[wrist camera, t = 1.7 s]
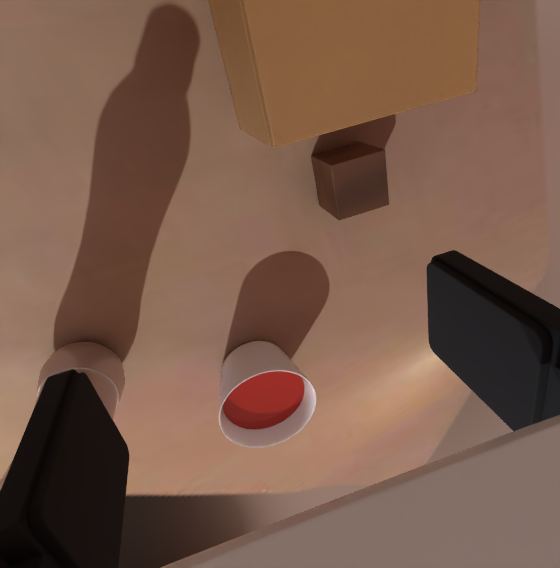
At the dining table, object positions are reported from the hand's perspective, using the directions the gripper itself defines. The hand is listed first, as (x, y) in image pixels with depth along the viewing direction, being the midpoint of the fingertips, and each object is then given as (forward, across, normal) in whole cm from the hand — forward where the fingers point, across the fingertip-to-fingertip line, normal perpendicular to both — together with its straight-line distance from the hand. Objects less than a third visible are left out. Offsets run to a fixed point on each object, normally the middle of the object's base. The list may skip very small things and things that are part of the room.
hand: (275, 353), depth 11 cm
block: (+24, -11, +3) cm, 27 cm away
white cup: (+25, 0, +20) cm, 32 cm away
